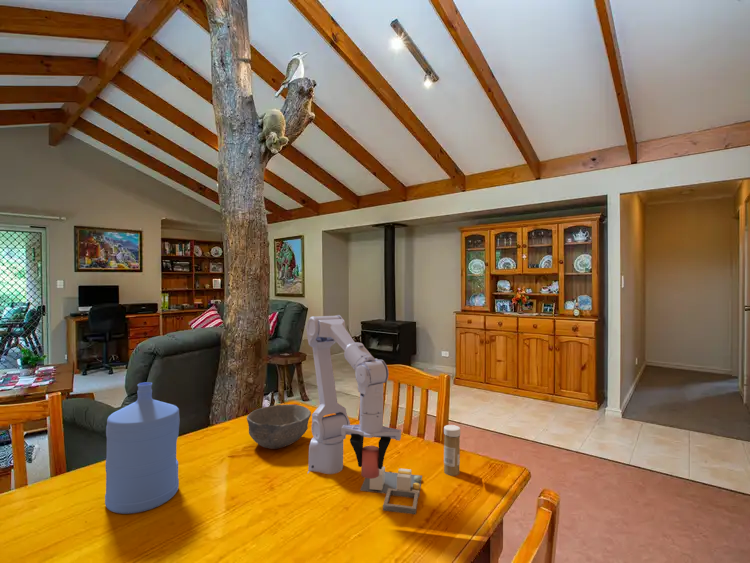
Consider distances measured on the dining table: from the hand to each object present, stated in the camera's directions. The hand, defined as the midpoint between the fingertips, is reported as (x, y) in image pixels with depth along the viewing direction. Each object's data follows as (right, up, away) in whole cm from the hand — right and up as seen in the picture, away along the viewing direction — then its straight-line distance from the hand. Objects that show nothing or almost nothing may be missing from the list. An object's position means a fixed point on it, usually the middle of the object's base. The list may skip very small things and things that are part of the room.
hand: (370, 466), depth 96 cm
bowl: (-31, -9, +34) cm, 47 cm away
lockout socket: (+7, -9, -1) cm, 12 cm away
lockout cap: (0, -2, 0) cm, 2 cm away
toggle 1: (+2, -8, +6) cm, 10 cm away
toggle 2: (+9, -8, +5) cm, 13 cm away
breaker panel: (+6, -9, +8) cm, 13 cm away
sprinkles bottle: (+23, -10, +15) cm, 29 cm away
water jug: (-56, -8, +1) cm, 57 cm away
